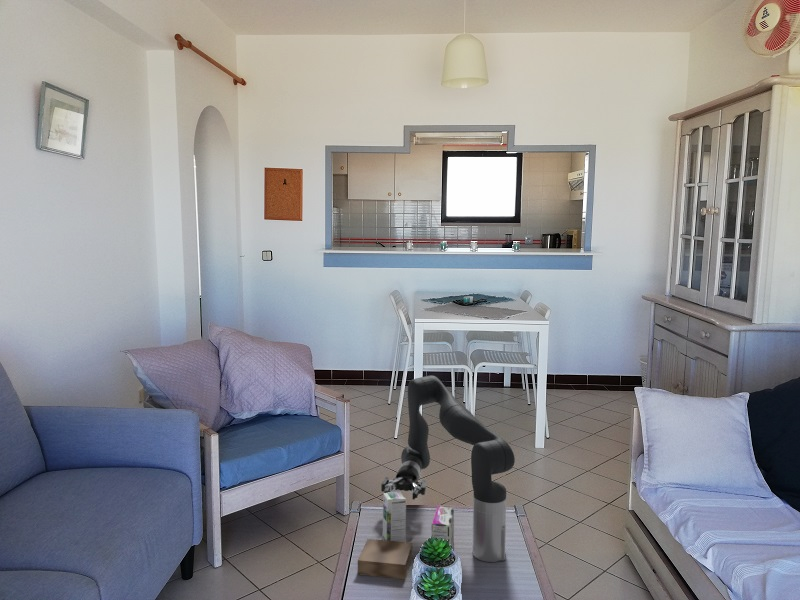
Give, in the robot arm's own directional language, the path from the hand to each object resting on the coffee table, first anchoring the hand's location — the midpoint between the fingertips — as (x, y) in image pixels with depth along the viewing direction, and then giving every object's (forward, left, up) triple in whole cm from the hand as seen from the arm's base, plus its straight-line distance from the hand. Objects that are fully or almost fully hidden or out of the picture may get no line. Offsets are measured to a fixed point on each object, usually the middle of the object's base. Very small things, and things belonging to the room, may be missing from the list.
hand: (400, 495), depth 194 cm
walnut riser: (0, +24, -10) cm, 26 cm away
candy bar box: (-16, +25, -10) cm, 32 cm away
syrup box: (0, +11, -10) cm, 15 cm away
